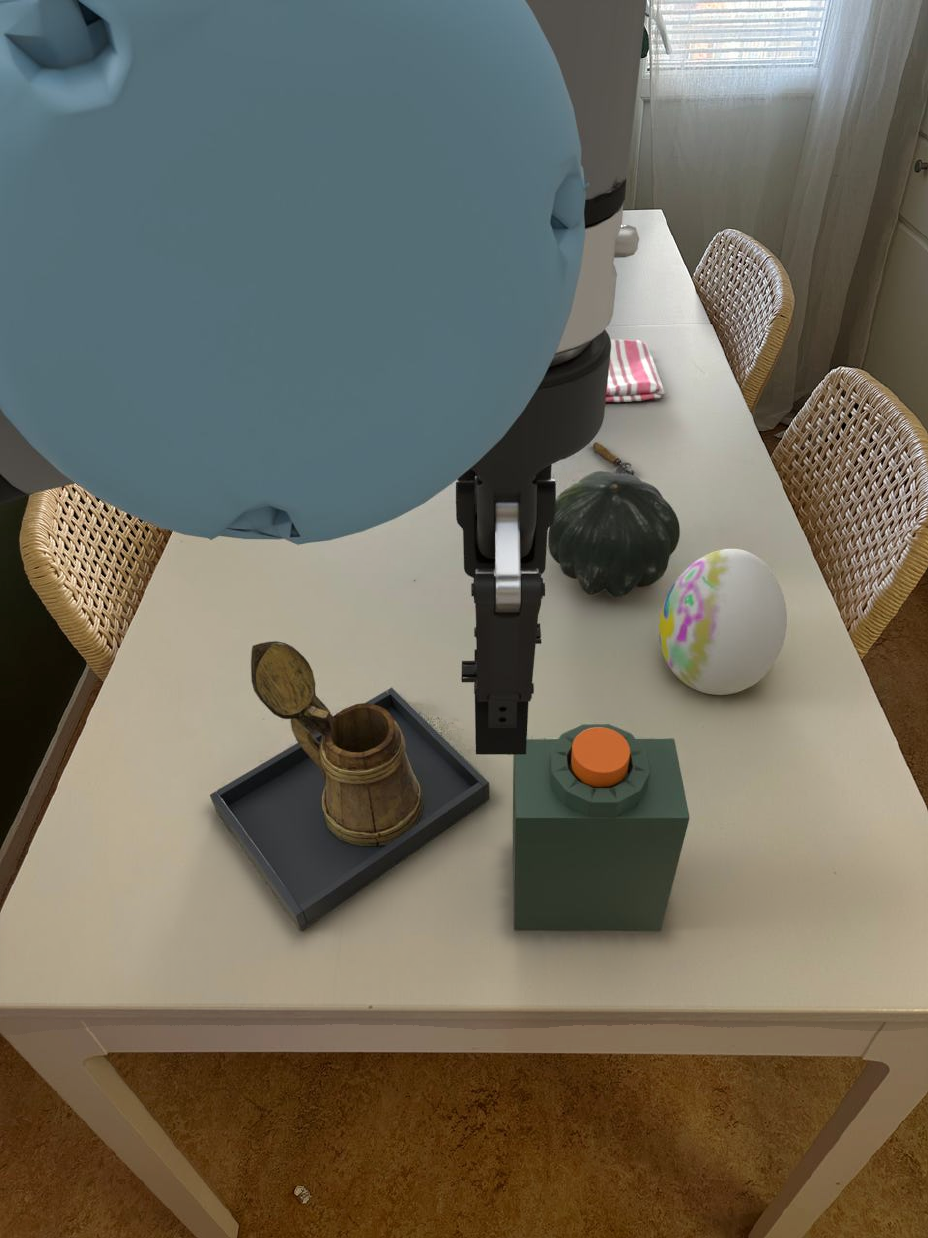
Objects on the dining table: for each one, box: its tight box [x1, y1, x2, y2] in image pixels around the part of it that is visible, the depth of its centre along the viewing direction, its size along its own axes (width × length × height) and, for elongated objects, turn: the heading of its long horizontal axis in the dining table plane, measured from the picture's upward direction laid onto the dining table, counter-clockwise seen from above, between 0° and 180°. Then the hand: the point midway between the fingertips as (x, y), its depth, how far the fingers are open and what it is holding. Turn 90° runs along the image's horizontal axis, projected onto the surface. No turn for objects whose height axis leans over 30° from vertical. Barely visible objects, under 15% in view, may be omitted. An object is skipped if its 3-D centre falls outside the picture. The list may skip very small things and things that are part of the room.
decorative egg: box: [658, 548, 788, 696], centre depth 87 cm, size 12×12×15 cm
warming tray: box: [209, 687, 491, 932], centre depth 80 cm, size 20×15×3 cm
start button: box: [571, 727, 630, 788], centre depth 61 cm, size 4×4×2 cm
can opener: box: [592, 442, 635, 476], centre depth 120 cm, size 9×2×1 cm, turn 24°
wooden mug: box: [250, 640, 424, 846], centre depth 74 cm, size 9×14×18 cm, turn 68°
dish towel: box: [606, 339, 665, 403], centre depth 137 cm, size 17×23×4 cm
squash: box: [547, 470, 681, 598], centre depth 99 cm, size 14×15×15 cm
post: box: [511, 723, 691, 932], centre depth 67 cm, size 12×7×18 cm, turn 89°
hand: (500, 743), depth 47 cm, fingers closed
